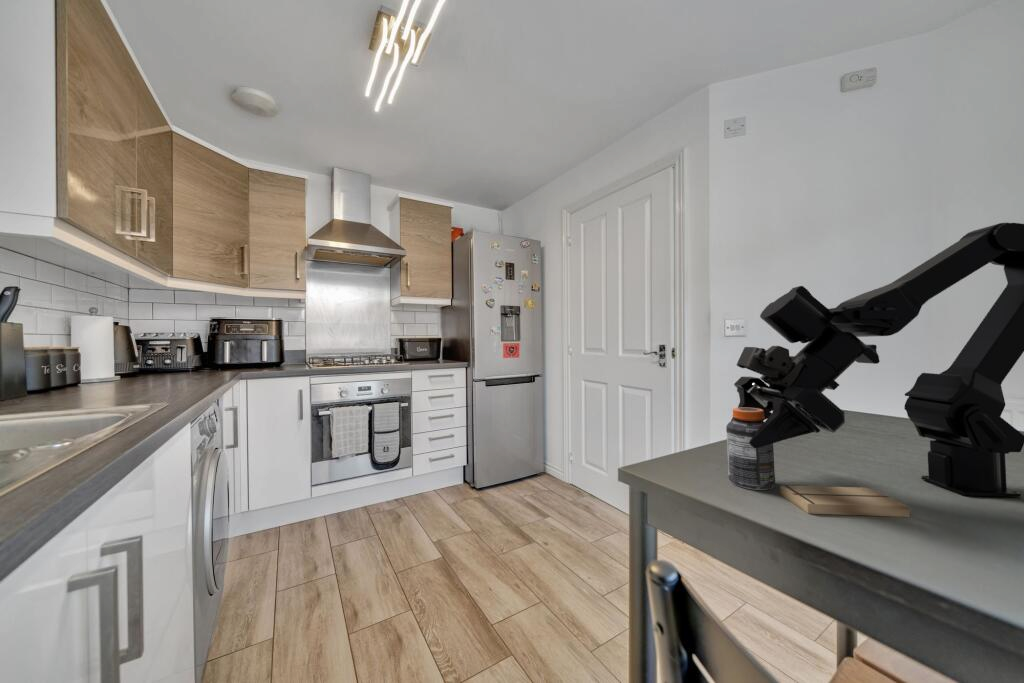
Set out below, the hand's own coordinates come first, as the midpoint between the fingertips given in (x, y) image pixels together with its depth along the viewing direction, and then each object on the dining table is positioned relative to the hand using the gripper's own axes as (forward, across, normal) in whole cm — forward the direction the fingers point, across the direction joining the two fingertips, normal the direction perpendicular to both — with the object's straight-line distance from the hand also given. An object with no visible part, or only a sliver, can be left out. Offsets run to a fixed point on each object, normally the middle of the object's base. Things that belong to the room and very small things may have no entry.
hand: (739, 439), depth 57 cm
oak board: (-2, +7, +11) cm, 13 cm away
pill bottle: (+4, 0, +6) cm, 7 cm away
